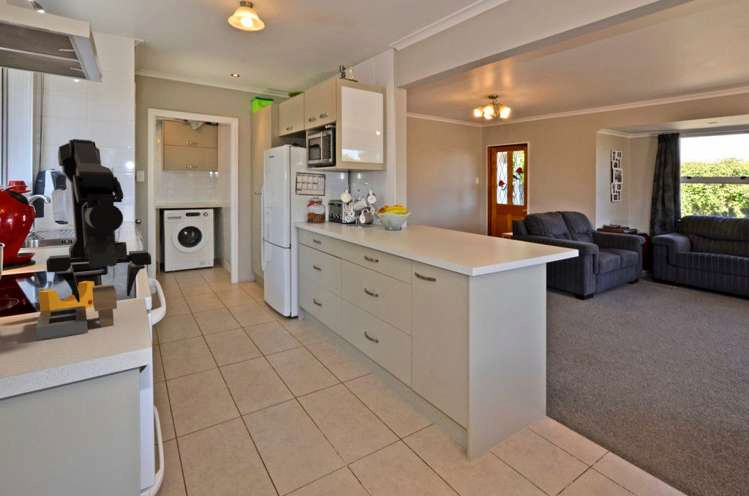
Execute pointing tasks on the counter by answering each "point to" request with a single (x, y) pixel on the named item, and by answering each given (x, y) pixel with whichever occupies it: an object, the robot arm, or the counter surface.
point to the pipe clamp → (52, 301)
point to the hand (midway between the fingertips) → (104, 298)
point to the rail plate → (62, 322)
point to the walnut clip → (105, 303)
